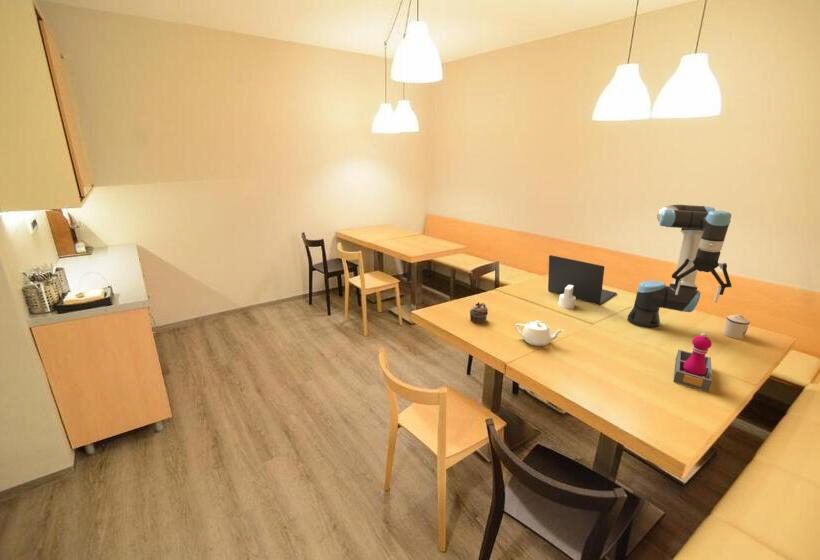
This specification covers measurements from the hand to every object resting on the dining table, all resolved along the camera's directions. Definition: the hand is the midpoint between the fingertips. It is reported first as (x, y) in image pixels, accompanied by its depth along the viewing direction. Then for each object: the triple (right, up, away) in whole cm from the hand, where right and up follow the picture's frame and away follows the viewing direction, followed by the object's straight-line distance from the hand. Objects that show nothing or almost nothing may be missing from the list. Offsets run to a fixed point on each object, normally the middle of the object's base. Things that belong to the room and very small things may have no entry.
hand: (695, 297), depth 161 cm
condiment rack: (-5, -32, -4) cm, 32 cm away
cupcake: (-85, -15, +44) cm, 97 cm away
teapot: (-60, -23, +22) cm, 68 cm away
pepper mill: (-8, -32, -8) cm, 34 cm away
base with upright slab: (-28, -8, +66) cm, 72 cm away
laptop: (-10, -2, +86) cm, 87 cm away
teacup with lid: (+44, -21, +33) cm, 59 cm away
